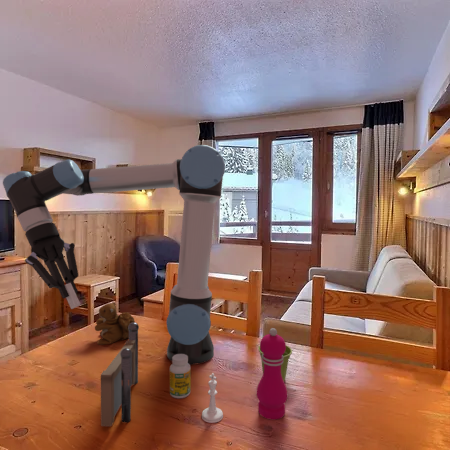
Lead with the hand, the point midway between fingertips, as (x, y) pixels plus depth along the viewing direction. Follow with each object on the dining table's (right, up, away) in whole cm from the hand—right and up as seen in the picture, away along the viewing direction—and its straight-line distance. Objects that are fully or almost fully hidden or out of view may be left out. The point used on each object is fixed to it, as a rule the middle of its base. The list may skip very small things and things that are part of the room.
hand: (76, 306), depth 90 cm
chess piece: (+37, -22, -12) cm, 45 cm away
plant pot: (+53, -22, +5) cm, 58 cm away
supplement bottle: (+28, -22, -3) cm, 36 cm away
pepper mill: (+51, -22, -10) cm, 56 cm away
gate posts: (+16, -22, -6) cm, 27 cm away
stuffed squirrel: (0, -20, +33) cm, 38 cm away
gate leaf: (+14, -20, -9) cm, 27 cm away
